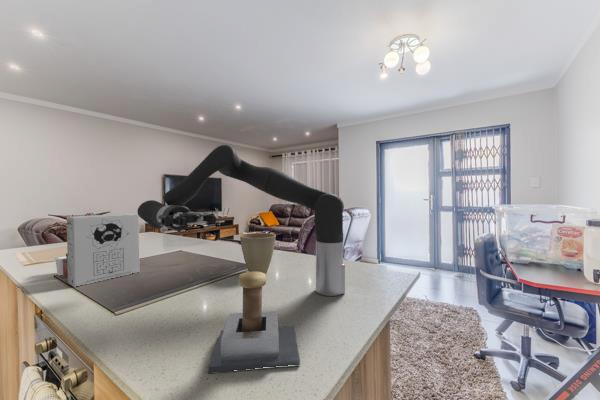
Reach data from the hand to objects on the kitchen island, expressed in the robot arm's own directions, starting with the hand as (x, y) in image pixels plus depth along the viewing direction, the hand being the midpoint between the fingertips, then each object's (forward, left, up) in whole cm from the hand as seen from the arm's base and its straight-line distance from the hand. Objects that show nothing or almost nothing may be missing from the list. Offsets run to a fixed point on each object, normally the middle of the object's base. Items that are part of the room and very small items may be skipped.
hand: (200, 220), depth 69 cm
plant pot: (-14, -38, -26) cm, 48 cm away
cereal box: (+46, -39, -26) cm, 66 cm away
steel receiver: (-16, +17, -26) cm, 35 cm away
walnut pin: (-15, +16, -25) cm, 33 cm away
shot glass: (+66, -47, -26) cm, 85 cm away
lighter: (+61, -44, -26) cm, 80 cm away
